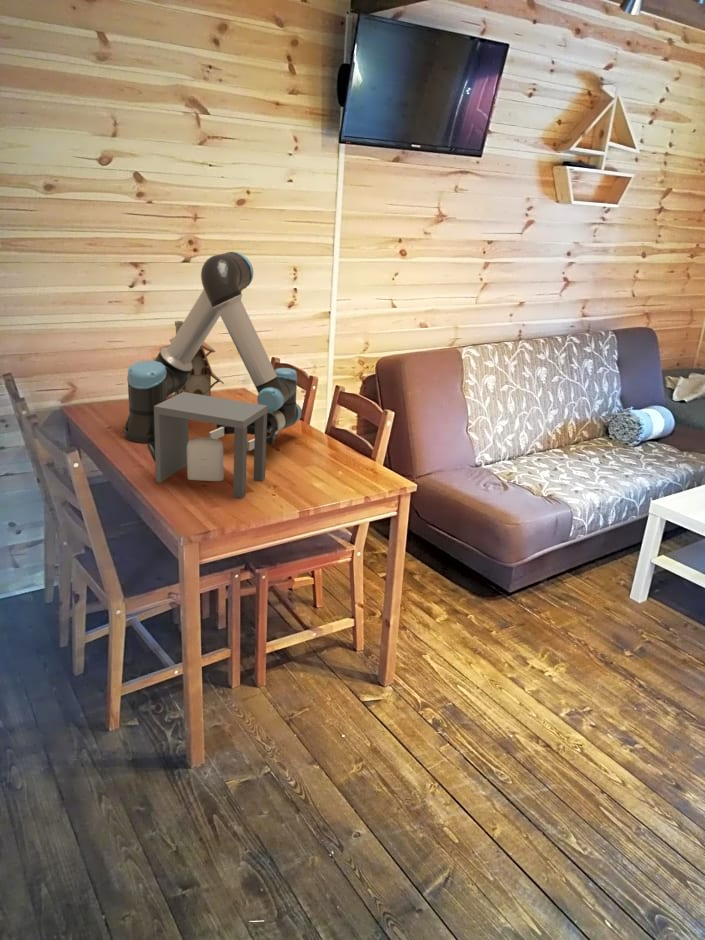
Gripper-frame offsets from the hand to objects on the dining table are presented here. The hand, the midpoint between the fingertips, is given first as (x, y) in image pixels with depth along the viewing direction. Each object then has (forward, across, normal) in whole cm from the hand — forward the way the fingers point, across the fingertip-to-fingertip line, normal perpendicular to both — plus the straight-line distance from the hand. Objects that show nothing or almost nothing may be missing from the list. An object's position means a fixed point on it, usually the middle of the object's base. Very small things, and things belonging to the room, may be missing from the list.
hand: (228, 441), depth 211 cm
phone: (+2, +23, -9) cm, 25 cm away
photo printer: (+11, 0, -8) cm, 14 cm away
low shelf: (+10, -2, -8) cm, 13 cm away
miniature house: (-39, +44, -8) cm, 60 cm away
